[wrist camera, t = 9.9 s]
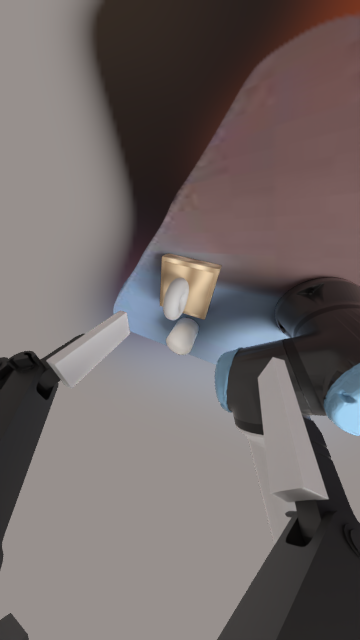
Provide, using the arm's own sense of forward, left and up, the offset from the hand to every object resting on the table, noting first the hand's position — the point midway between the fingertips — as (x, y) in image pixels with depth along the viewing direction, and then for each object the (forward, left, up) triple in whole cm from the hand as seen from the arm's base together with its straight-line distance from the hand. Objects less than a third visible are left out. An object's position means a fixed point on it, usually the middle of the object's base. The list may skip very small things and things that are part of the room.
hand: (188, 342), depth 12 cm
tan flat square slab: (+7, +6, -27) cm, 29 cm away
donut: (+7, +6, -23) cm, 25 cm away
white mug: (+5, +23, -27) cm, 36 cm away
